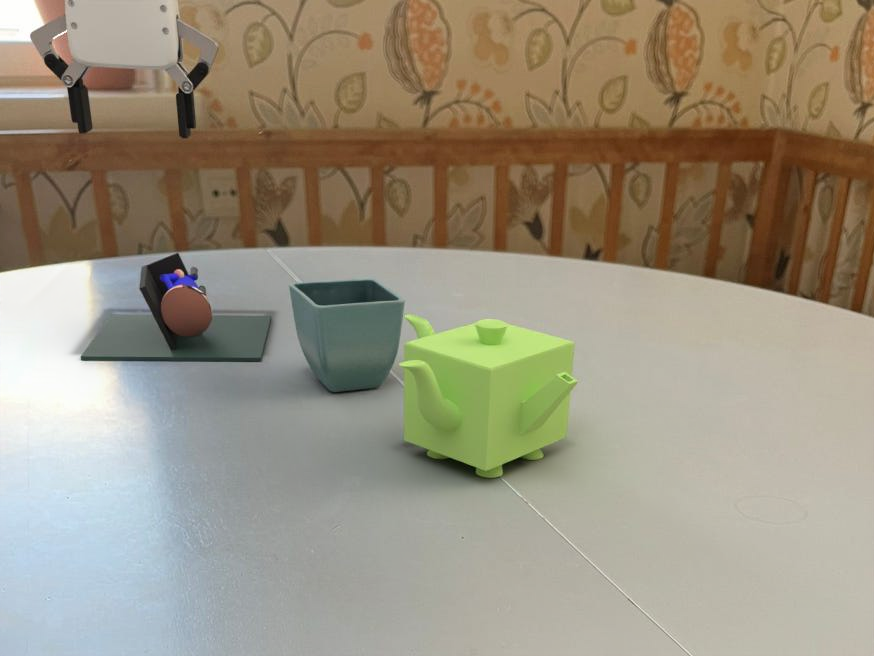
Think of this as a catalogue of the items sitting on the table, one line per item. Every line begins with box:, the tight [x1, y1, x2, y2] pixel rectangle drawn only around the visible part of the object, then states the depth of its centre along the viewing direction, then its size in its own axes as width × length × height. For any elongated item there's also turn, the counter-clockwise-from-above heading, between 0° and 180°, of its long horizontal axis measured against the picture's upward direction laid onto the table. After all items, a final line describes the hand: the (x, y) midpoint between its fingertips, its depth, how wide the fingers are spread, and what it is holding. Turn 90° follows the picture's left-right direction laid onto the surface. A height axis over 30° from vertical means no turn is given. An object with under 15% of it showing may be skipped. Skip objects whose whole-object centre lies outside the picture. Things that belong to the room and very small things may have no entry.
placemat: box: [80, 313, 272, 362], centre depth 114 cm, size 18×16×1 cm
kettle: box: [398, 314, 579, 479], centre depth 86 cm, size 15×14×11 cm
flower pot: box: [288, 278, 406, 393], centre depth 101 cm, size 9×9×9 cm
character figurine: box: [138, 252, 213, 350], centre depth 111 cm, size 8×7×15 cm
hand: (135, 134), depth 104 cm, fingers open, 9 cm apart
